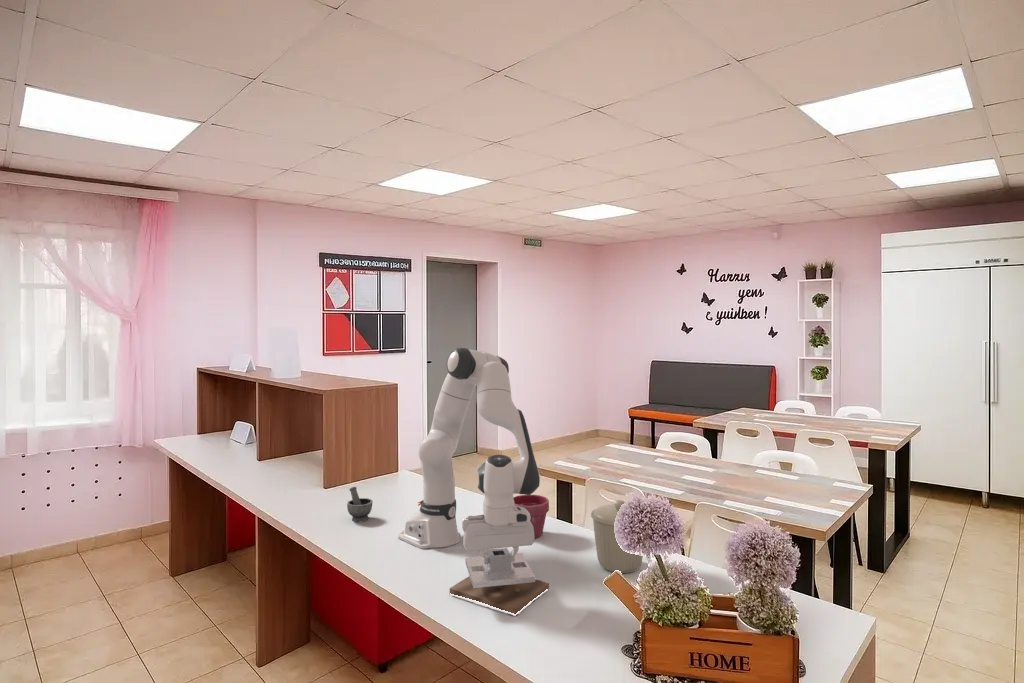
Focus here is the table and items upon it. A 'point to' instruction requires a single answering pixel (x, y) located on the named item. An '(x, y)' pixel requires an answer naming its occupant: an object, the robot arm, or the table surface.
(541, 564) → the table surface
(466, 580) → the post base
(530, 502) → the plant pot
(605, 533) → the canister
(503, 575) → the flange plate
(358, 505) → the mortar and pestle
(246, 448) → the table surface
